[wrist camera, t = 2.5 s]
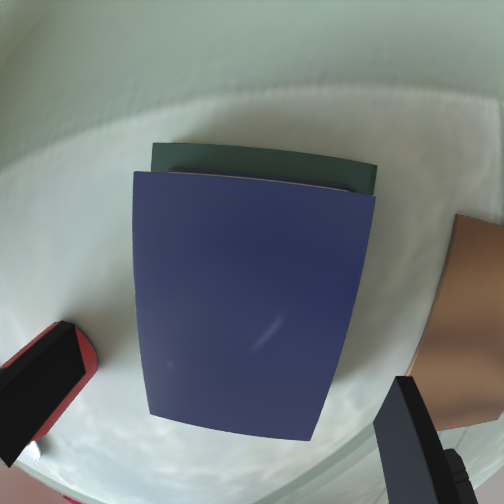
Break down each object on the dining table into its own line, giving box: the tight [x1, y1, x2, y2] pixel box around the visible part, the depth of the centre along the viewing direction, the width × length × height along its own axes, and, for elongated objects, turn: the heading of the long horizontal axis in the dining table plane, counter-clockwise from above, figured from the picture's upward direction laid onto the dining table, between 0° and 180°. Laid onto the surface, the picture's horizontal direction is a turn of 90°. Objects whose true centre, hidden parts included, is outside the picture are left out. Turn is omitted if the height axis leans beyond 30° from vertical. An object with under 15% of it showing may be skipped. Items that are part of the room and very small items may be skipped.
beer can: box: [0, 322, 98, 446], centre depth 19 cm, size 7×7×12 cm
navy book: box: [132, 168, 376, 441], centre depth 16 cm, size 15×10×4 cm
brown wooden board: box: [405, 214, 504, 431], centre depth 20 cm, size 22×18×1 cm
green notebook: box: [151, 143, 377, 195], centre depth 20 cm, size 18×13×2 cm
